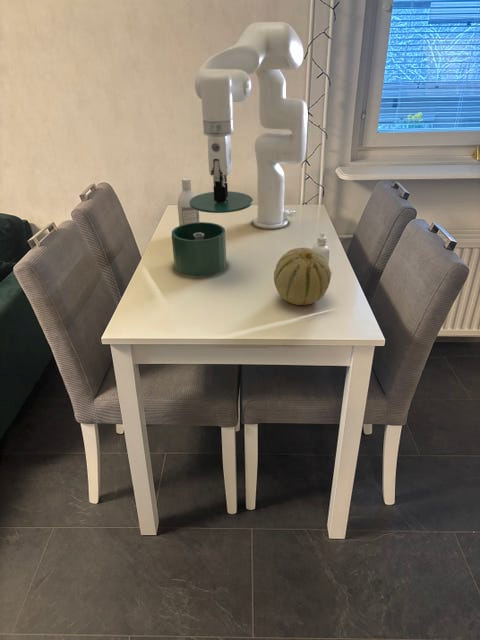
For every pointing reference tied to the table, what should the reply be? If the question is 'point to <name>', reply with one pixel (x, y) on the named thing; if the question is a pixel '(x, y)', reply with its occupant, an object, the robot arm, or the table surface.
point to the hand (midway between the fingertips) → (221, 198)
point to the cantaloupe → (302, 276)
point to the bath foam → (186, 204)
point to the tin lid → (231, 204)
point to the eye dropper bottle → (322, 247)
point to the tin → (199, 249)
